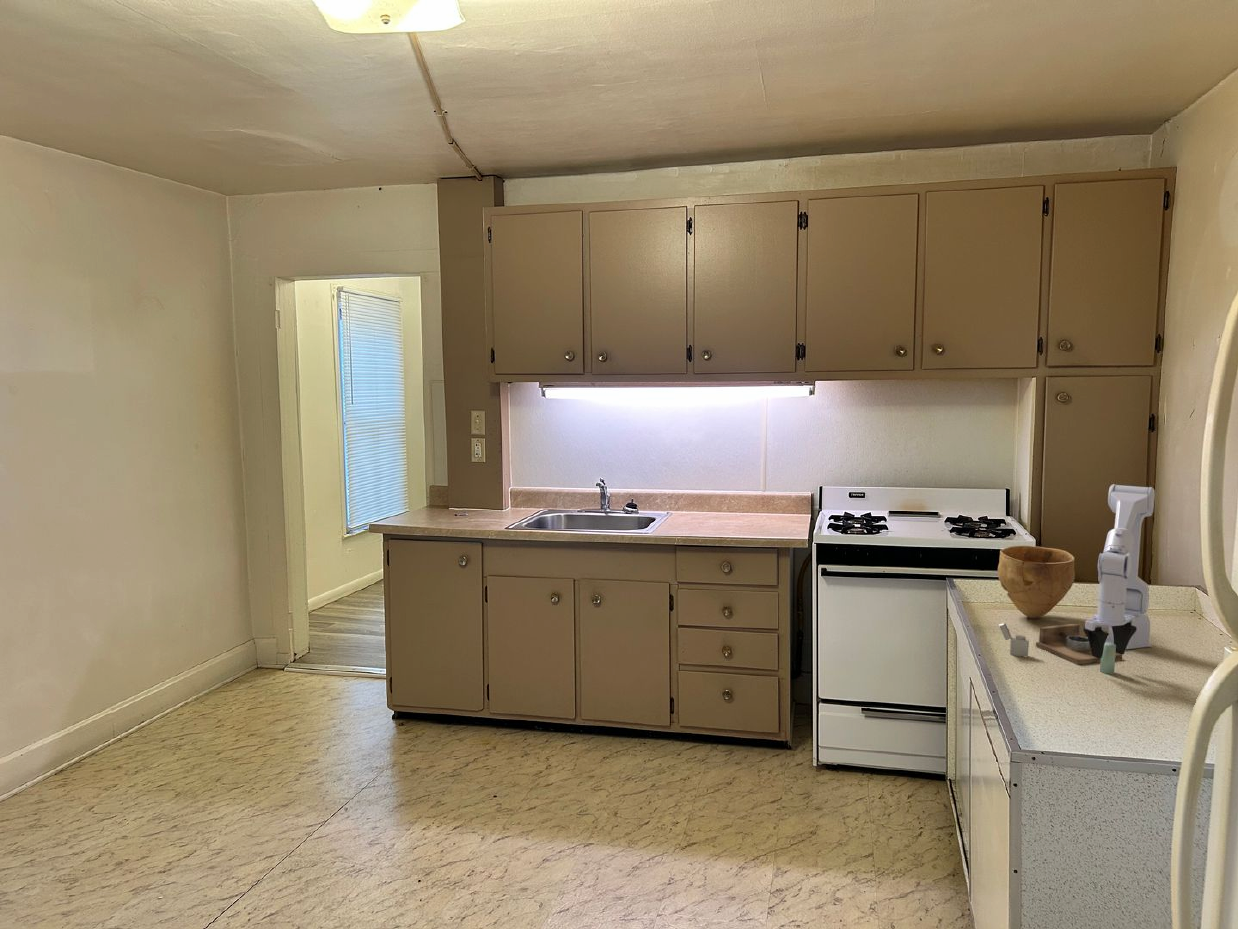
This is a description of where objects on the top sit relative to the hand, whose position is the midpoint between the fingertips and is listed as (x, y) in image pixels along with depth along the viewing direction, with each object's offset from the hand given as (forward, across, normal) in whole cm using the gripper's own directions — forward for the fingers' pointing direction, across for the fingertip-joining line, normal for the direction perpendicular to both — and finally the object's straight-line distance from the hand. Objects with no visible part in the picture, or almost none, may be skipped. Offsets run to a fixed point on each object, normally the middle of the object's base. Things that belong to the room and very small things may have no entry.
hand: (1108, 655), depth 203 cm
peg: (+4, 0, 0) cm, 4 cm away
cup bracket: (+4, -5, -13) cm, 14 cm away
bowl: (+4, -19, -39) cm, 44 cm away
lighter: (+4, +11, -18) cm, 22 cm away
